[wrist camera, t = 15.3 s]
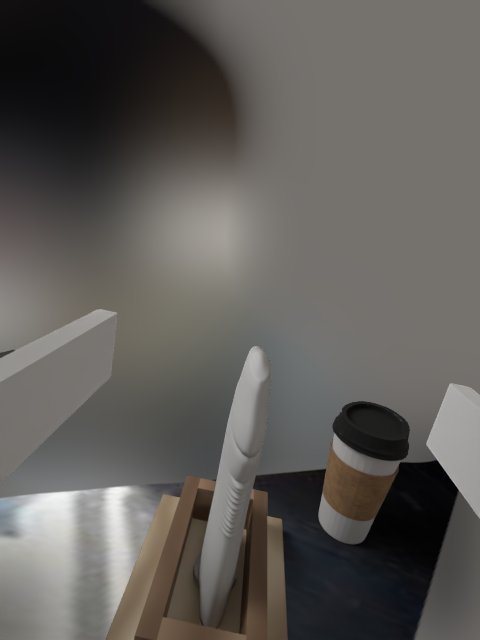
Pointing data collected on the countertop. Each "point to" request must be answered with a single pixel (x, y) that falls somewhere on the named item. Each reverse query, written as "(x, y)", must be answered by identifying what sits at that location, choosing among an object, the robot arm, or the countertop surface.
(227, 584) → the tall pale column
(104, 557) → the countertop surface
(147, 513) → the countertop surface
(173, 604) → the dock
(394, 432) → the coffee cup
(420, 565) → the countertop surface
